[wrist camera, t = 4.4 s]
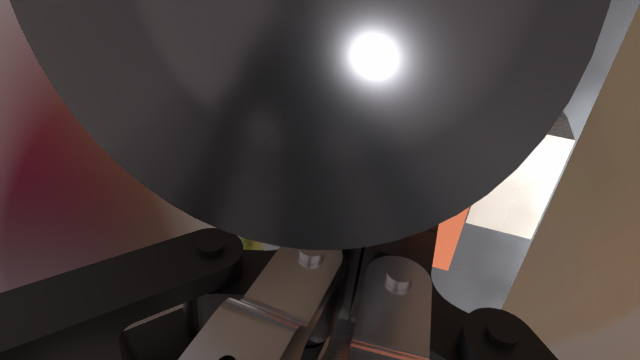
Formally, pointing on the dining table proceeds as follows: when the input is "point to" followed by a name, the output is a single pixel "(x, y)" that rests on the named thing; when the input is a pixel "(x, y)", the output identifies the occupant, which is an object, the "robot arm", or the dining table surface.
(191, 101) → the twin post stand
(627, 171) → the dining table surface
